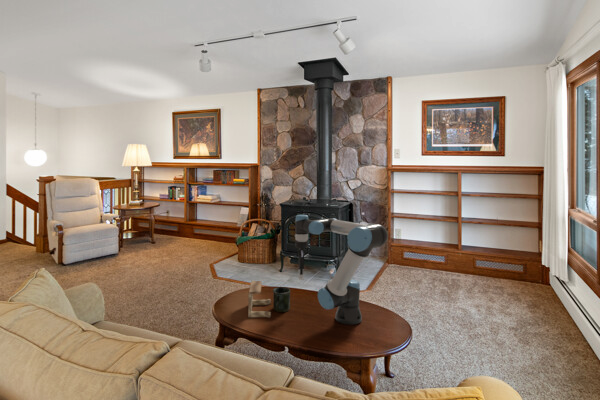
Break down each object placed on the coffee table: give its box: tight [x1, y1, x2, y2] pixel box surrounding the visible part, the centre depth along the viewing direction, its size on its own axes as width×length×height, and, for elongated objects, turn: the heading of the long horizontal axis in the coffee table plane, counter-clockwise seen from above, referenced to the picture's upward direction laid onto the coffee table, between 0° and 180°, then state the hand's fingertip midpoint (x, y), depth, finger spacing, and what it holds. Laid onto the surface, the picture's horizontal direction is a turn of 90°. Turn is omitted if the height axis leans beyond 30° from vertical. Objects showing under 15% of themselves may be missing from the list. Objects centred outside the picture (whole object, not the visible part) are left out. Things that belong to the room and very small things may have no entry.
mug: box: [272, 286, 292, 313], centre depth 217 cm, size 11×15×12 cm
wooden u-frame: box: [247, 280, 272, 319], centre depth 216 cm, size 13×21×15 cm, turn 5°
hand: (300, 278), depth 217 cm, fingers open, 2 cm apart
